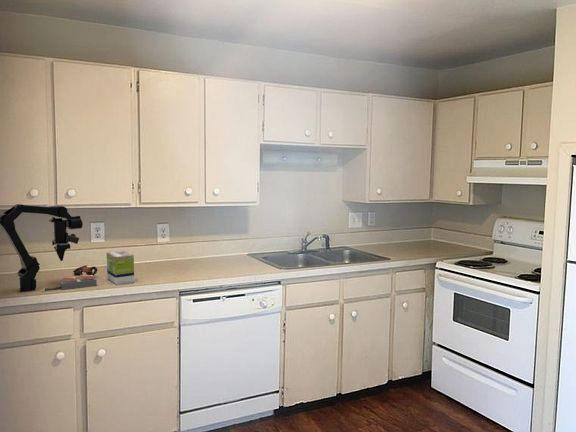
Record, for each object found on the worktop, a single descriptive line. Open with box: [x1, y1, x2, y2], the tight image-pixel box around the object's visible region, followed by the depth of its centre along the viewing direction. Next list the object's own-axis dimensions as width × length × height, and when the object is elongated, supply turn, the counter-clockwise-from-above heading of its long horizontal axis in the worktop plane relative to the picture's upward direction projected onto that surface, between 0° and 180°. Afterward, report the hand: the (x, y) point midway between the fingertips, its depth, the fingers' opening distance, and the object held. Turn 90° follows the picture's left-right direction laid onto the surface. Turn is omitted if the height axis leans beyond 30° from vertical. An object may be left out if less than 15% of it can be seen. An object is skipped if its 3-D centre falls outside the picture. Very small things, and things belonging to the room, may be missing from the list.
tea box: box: [106, 250, 135, 285], centre depth 248 cm, size 15×10×15 cm, turn 37°
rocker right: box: [79, 274, 95, 279], centre depth 237 cm, size 6×3×1 cm, turn 124°
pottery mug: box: [72, 264, 98, 279], centre depth 253 cm, size 12×10×8 cm
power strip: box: [44, 277, 98, 292], centre depth 233 cm, size 23×6×3 cm, turn 123°
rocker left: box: [62, 275, 78, 281], centre depth 233 cm, size 6×3×1 cm, turn 124°
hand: (61, 260), depth 239 cm, fingers closed
